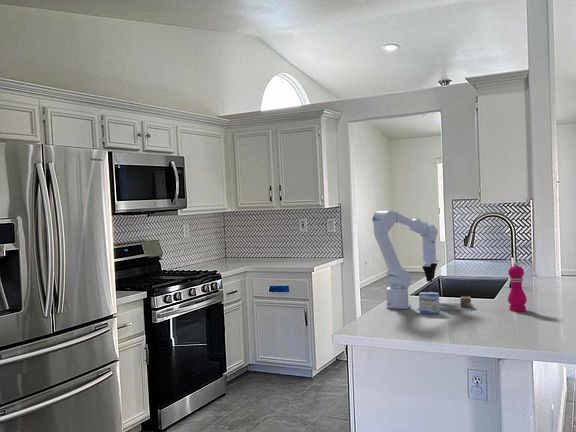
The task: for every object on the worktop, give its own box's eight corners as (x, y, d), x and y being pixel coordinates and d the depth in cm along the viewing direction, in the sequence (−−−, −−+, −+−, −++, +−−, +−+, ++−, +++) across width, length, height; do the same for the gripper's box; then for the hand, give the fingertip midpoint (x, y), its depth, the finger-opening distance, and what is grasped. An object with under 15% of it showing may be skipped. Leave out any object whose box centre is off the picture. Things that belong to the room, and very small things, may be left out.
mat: (417, 310, 229) (417, 309, 229) (421, 303, 243) (421, 302, 243) (471, 311, 221) (471, 310, 221) (472, 304, 235) (472, 303, 235)
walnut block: (460, 307, 228) (460, 298, 228) (461, 305, 232) (460, 296, 232) (470, 307, 227) (470, 298, 227) (470, 305, 231) (470, 296, 231)
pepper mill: (527, 309, 221) (525, 261, 221) (527, 312, 214) (525, 263, 214) (508, 308, 224) (506, 261, 224) (507, 311, 218) (505, 263, 217)
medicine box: (419, 314, 221) (418, 293, 221) (420, 312, 225) (419, 291, 225) (438, 314, 218) (438, 294, 218) (439, 312, 222) (439, 292, 222)
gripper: (436, 252, 235) (437, 282, 235) (439, 249, 248) (441, 277, 249) (420, 252, 237) (421, 282, 238) (424, 249, 251) (425, 277, 251)
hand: (430, 280), depth 243 cm, fingers open, 7 cm apart
